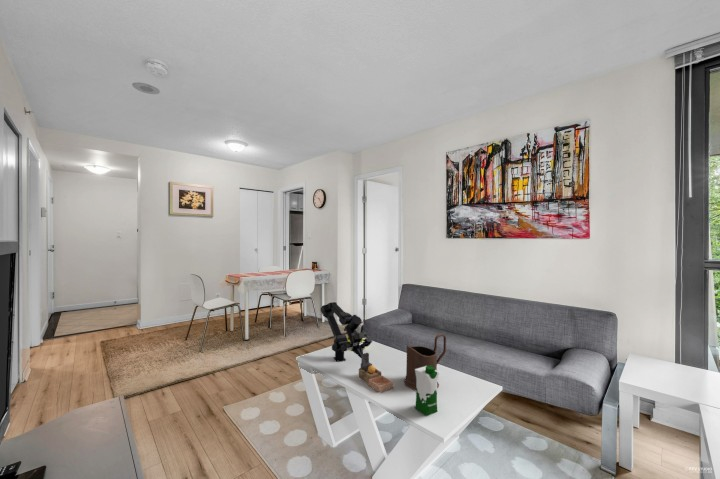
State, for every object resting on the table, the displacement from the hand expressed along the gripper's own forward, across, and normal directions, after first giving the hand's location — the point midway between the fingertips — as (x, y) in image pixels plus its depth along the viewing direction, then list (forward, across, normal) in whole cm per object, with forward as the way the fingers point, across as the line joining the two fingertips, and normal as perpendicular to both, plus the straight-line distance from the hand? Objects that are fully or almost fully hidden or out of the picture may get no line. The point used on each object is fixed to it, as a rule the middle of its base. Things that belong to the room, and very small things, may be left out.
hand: (362, 358), depth 178 cm
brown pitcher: (+25, +23, -12) cm, 36 cm away
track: (+12, 0, +1) cm, 12 cm away
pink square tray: (+18, 0, -6) cm, 19 cm away
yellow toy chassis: (-21, +21, +35) cm, 46 cm away
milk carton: (+39, +4, -26) cm, 47 cm away
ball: (+8, 0, -4) cm, 9 cm away
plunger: (+6, 0, +1) cm, 6 cm away
